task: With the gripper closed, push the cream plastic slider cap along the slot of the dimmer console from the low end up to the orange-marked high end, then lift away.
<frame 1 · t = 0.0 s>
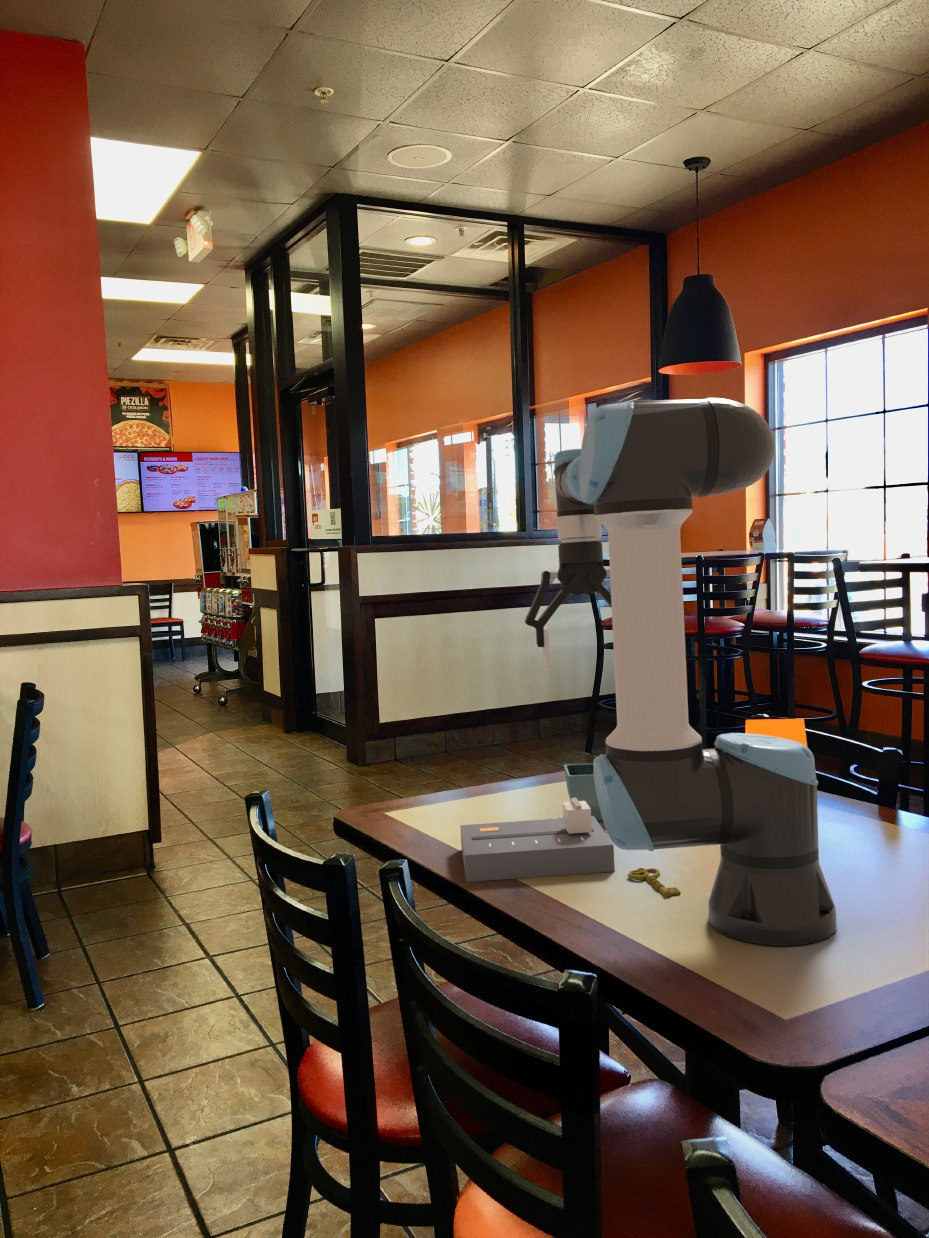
hand: (586, 663, 166), 28 cm above the table, fingers open, 13 cm apart
key: (651, 888, 136), on the table
slider cap: (576, 814, 149), point 7 cm above the table, slide at -7.0 cm
flower pot: (592, 819, 170), on the table
dimmer console: (534, 859, 149), on the table
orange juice: (779, 847, 148), on the table
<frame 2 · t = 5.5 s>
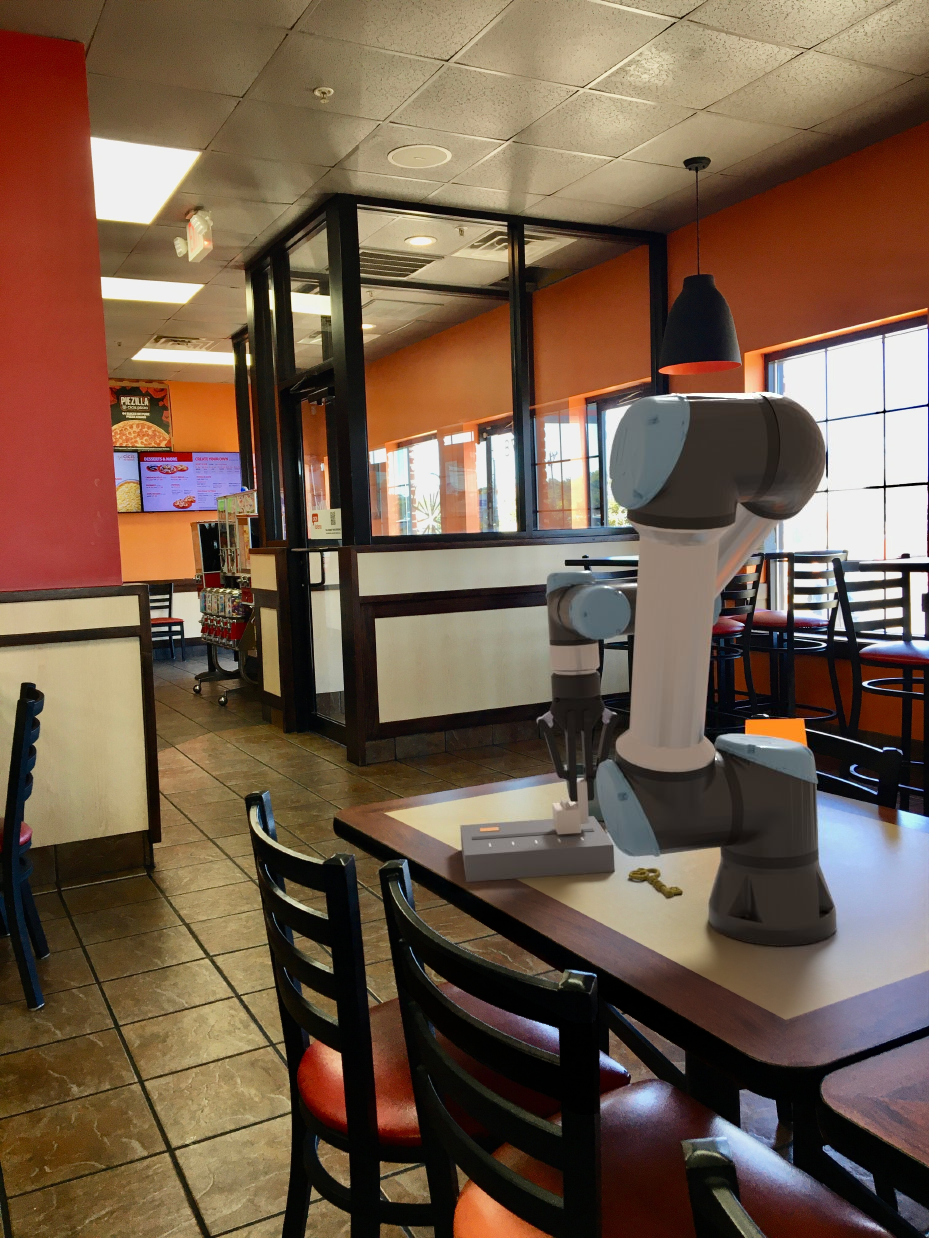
hand: (582, 821, 149), 6 cm above the table, fingers closed
slider cap: (566, 815, 149), point 7 cm above the table, slide at -5.4 cm, touching gripper
everything else where it was.
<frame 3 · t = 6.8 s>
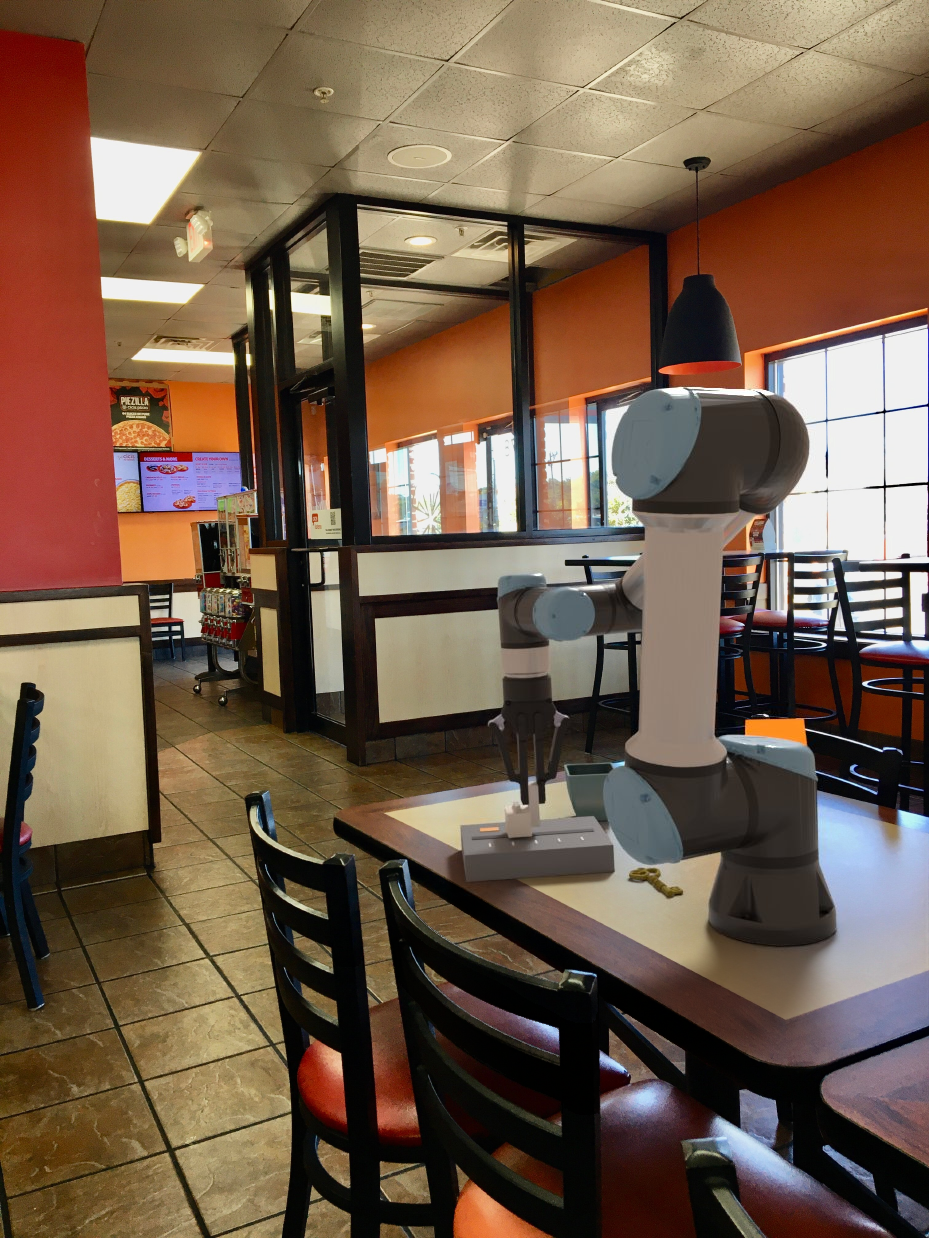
hand: (534, 824, 149), 6 cm above the table, fingers closed
slider cap: (517, 818, 148), point 7 cm above the table, slide at 2.2 cm, touching gripper
everything else where it was.
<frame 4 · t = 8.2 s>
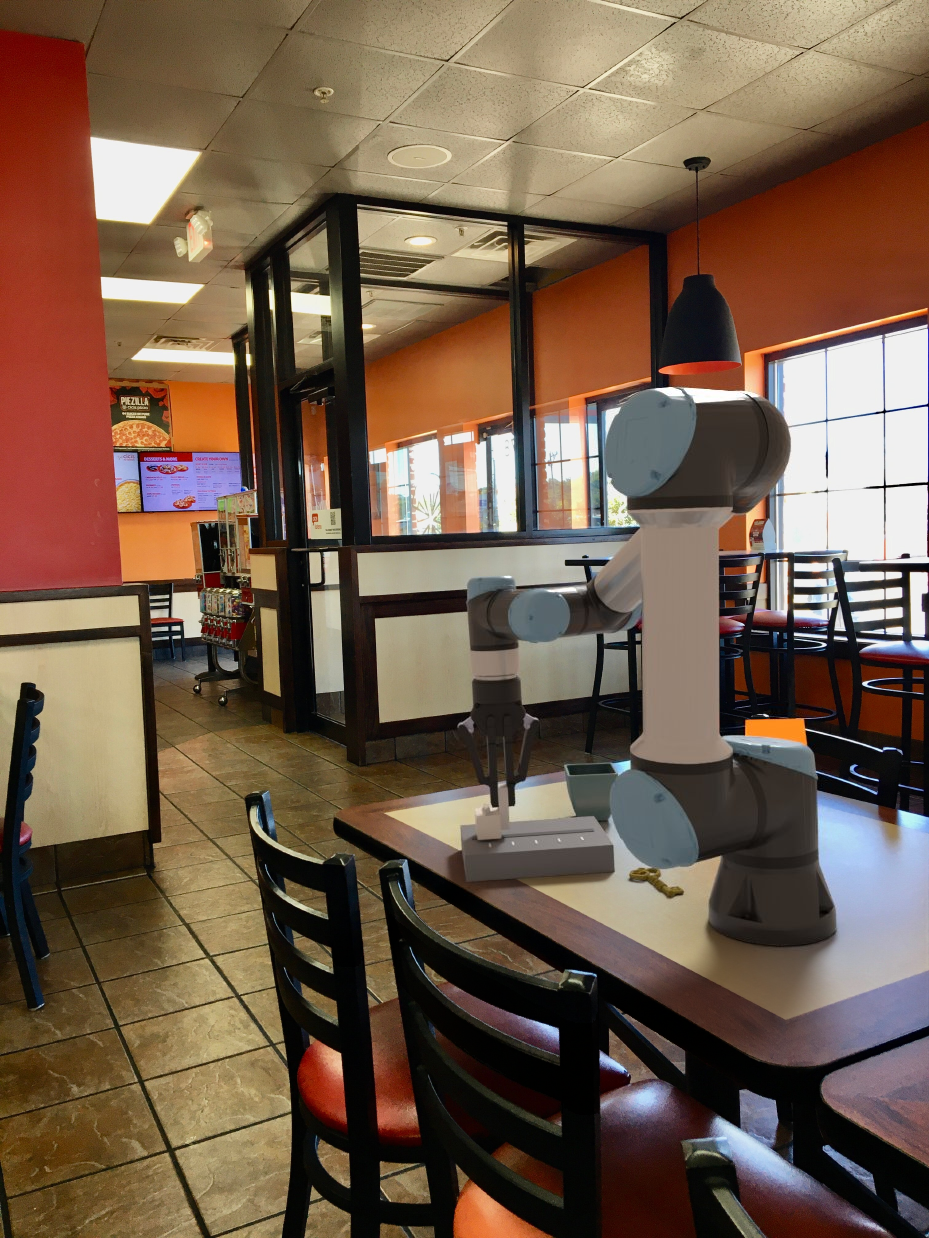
hand: (504, 827, 148), 5 cm above the table, fingers closed
slider cap: (487, 821, 148), point 7 cm above the table, slide at 6.9 cm, touching gripper
everything else where it was.
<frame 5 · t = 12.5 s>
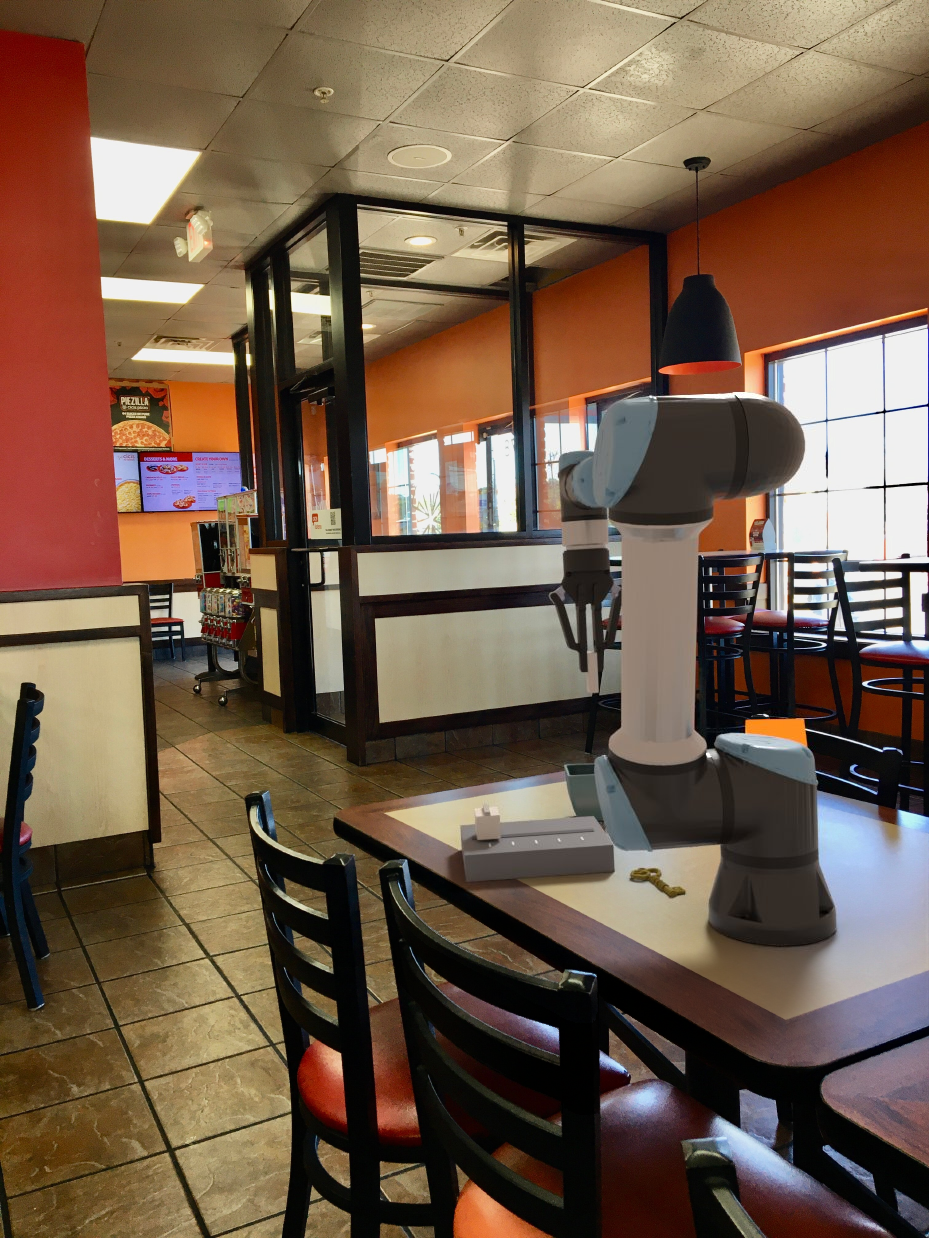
hand: (592, 691, 157), 24 cm above the table, fingers closed
slider cap: (487, 821, 148), point 7 cm above the table, slide at 7.0 cm
everything else where it was.
at the end: slider cap slide at 7.0 cm; the gripper is holding nothing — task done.
